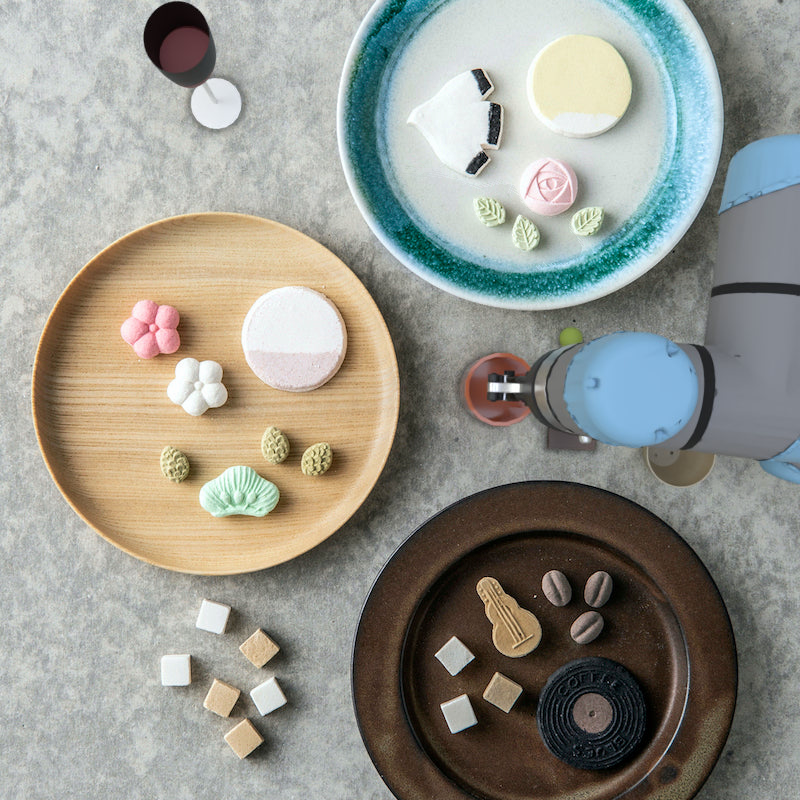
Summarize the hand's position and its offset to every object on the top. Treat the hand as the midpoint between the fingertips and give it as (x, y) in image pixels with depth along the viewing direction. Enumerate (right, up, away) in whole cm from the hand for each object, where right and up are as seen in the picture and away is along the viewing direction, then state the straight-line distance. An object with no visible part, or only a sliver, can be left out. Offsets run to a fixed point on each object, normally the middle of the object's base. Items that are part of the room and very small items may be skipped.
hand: (523, 389), depth 83 cm
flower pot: (+25, -9, +25) cm, 37 cm away
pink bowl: (0, 0, +24) cm, 24 cm away
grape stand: (+11, -5, +25) cm, 28 cm away
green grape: (+11, +8, +23) cm, 26 cm away
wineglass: (-42, +43, +23) cm, 64 cm away
